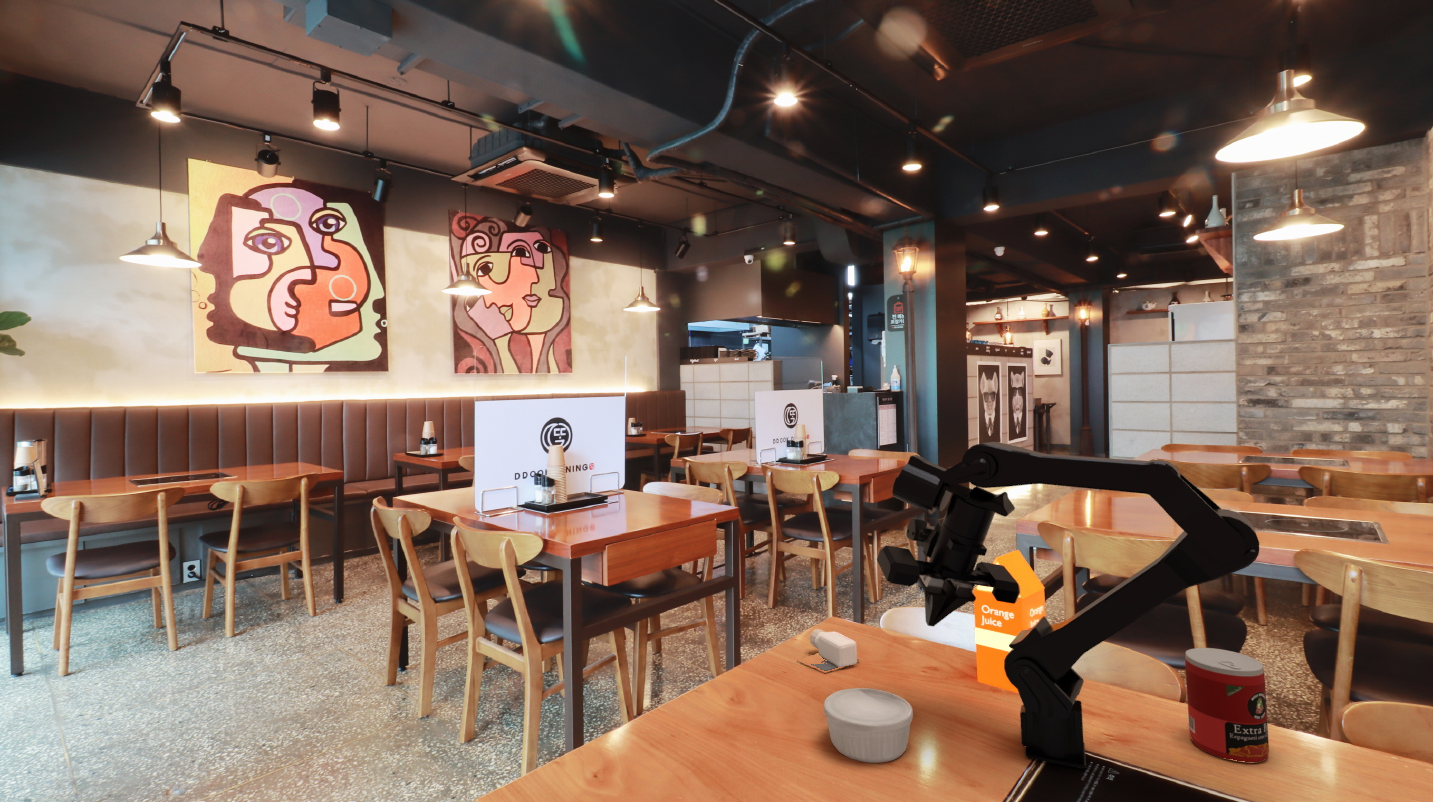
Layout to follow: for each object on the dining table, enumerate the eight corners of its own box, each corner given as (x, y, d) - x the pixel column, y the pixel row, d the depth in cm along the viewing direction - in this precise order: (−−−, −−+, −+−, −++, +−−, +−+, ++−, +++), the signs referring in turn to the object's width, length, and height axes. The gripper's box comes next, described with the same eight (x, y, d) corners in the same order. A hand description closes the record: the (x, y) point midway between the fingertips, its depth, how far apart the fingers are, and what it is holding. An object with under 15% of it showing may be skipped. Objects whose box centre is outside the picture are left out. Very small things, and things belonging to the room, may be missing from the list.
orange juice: (976, 681, 102) (970, 555, 102) (1001, 666, 108) (995, 546, 108) (1027, 695, 96) (1020, 561, 97) (1050, 678, 102) (1043, 552, 103)
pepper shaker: (839, 669, 108) (807, 650, 116) (858, 664, 109) (825, 646, 118) (839, 645, 108) (807, 628, 116) (858, 641, 109) (825, 624, 118)
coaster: (858, 662, 111) (858, 659, 111) (825, 673, 107) (825, 670, 107) (829, 651, 117) (829, 648, 117) (797, 661, 112) (797, 658, 112)
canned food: (1239, 769, 75) (1233, 674, 75) (1173, 738, 82) (1169, 651, 83) (1286, 758, 77) (1281, 665, 77) (1218, 728, 84) (1213, 644, 85)
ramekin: (923, 736, 85) (921, 696, 85) (901, 778, 75) (899, 732, 76) (842, 719, 91) (841, 681, 91) (812, 755, 81) (810, 713, 81)
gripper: (1001, 512, 95) (967, 600, 100) (882, 491, 94) (853, 581, 98) (1039, 552, 85) (1000, 648, 89) (906, 528, 83) (872, 628, 88)
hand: (929, 624), depth 92 cm, fingers closed
